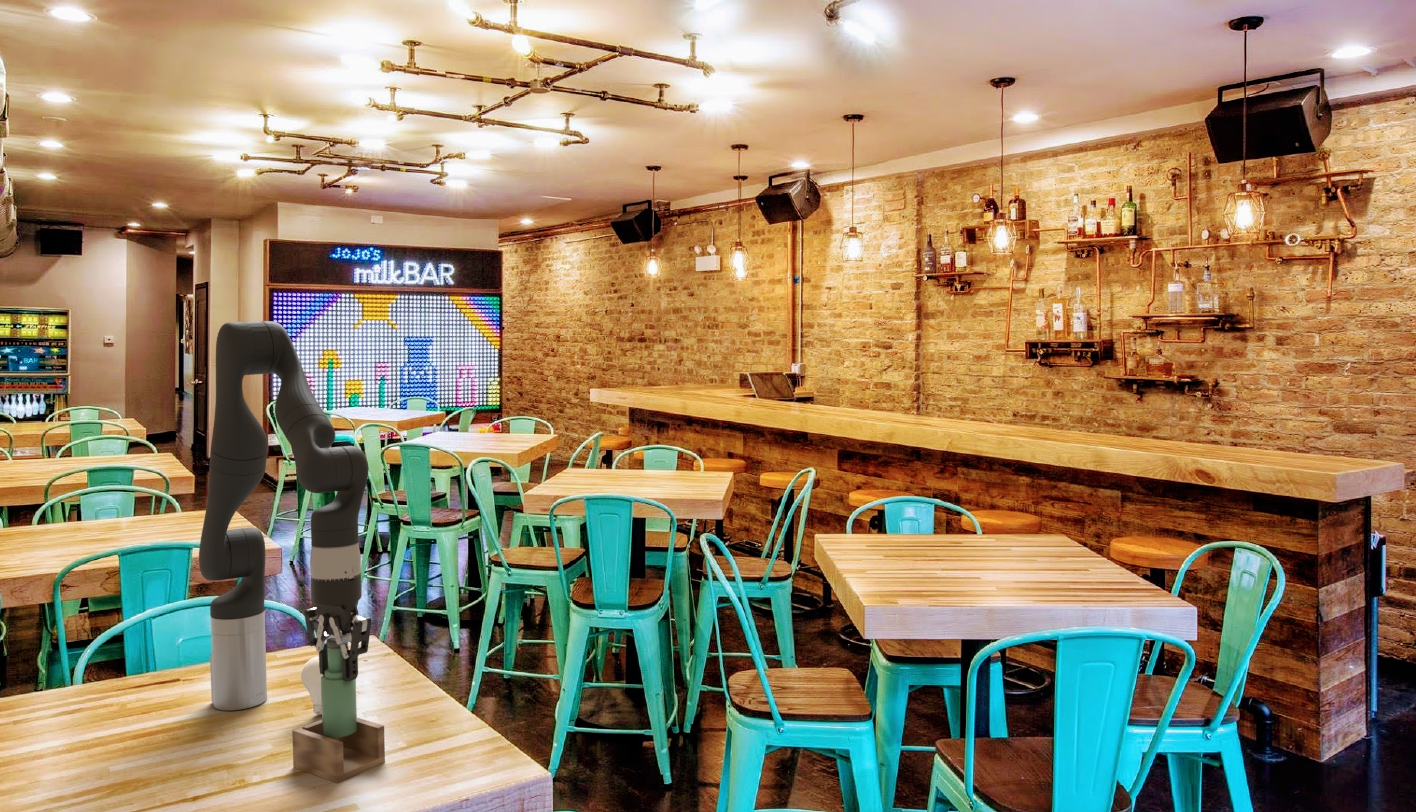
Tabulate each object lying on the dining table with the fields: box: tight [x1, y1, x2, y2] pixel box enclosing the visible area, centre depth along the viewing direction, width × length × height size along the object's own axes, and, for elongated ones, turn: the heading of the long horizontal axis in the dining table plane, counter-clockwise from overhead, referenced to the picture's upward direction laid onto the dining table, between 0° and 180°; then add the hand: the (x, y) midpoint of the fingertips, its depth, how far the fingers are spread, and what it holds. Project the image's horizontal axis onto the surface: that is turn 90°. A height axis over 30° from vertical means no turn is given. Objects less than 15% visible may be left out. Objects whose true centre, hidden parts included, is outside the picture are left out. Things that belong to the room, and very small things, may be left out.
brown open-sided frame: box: [291, 717, 386, 784], centre depth 154 cm, size 11×9×6 cm
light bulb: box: [300, 655, 323, 717], centre depth 175 cm, size 7×7×11 cm
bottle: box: [321, 638, 358, 738], centre depth 153 cm, size 5×5×15 cm
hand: (338, 676), depth 153 cm, fingers closed on bottle, 5 cm apart
